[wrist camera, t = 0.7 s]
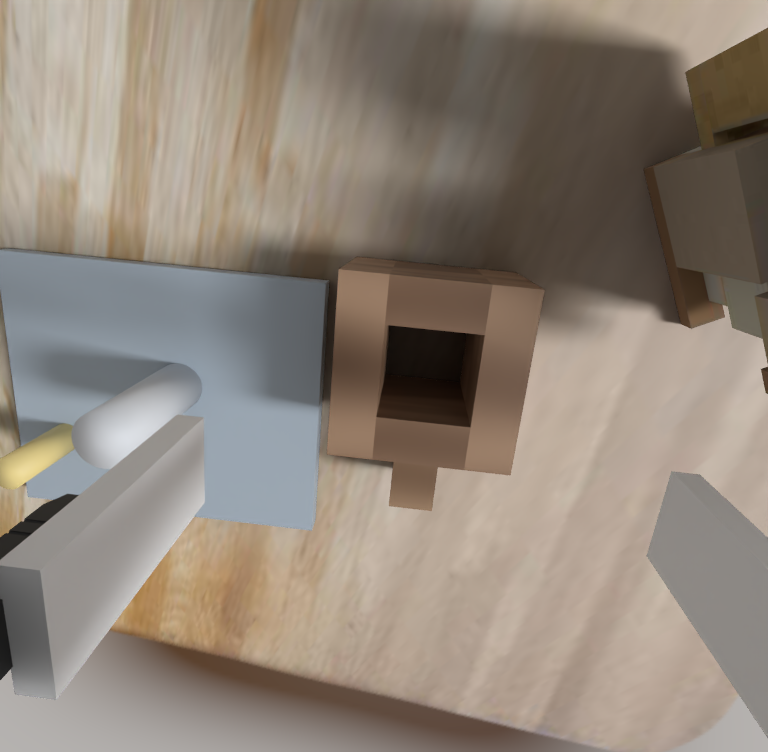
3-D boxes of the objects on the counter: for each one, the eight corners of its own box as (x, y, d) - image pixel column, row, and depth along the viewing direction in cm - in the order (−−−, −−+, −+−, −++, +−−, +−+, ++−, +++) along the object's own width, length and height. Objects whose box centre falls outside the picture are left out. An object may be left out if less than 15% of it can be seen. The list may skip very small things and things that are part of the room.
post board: (10, 248, 31) (-155, 261, 22) (329, 280, 30) (291, 308, 21) (40, 487, 35) (-85, 577, 27) (315, 520, 35) (279, 623, 26)
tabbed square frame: (357, 256, 29) (338, 269, 23) (516, 272, 29) (544, 289, 22) (341, 462, 33) (322, 524, 27) (481, 478, 33) (497, 545, 26)
